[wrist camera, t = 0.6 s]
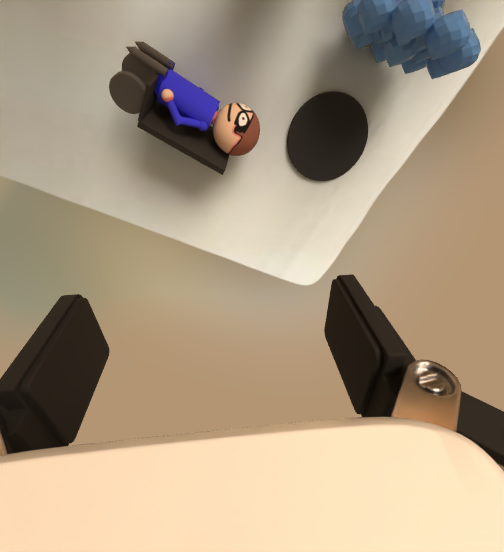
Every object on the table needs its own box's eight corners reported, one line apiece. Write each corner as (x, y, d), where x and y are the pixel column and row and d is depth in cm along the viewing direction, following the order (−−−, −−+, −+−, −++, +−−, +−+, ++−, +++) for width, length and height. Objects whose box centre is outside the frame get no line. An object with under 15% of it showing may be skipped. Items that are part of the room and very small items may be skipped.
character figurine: (139, 32, 29) (262, 119, 35) (114, 103, 32) (232, 174, 38) (119, 10, 23) (275, 122, 28) (90, 102, 25) (237, 188, 31)
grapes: (444, 23, 31) (551, -7, 21) (405, 92, 34) (480, 96, 24) (354, -39, 28) (429, -108, 18) (320, 44, 31) (366, 25, 21)
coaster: (288, 94, 33) (289, 94, 33) (373, 89, 34) (375, 89, 33) (286, 182, 39) (286, 183, 38) (359, 177, 39) (360, 178, 39)
